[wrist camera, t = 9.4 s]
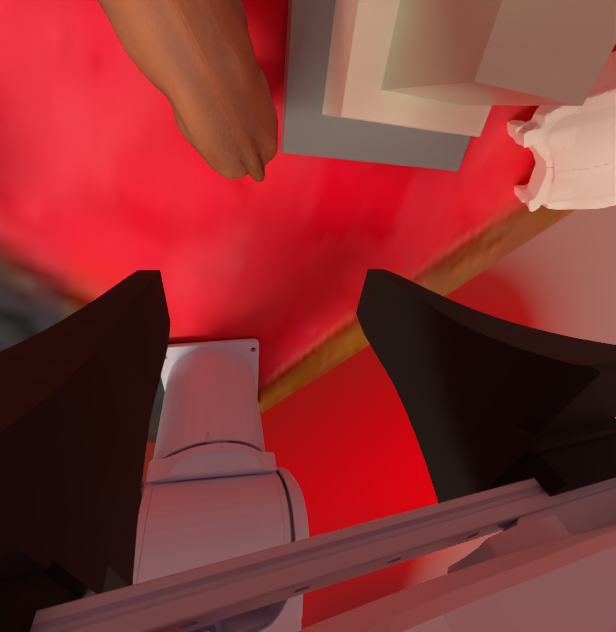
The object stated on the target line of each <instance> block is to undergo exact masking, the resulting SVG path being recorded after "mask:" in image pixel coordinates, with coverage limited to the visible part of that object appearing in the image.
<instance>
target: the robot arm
mask: <svg viewBox="0 0 616 632" xmlns="http://www.w3.org/2000/svg"><path fill="white" fill-rule="evenodd" d="M356 314H357V317H358V319H359V322H360V325H361V327H362V330H363V332H364V334H365V336H366V338H367V340H368V341H369V343H370V345H371V346H372V348H373V350H374V352H375V353H376V355H377V357H378V358H379V360H380V362H381V363H382V365H383V367H384V368H385V370H386V372H387V374H388V375H389V377H390V379H391V380H392V382H393V384H394V386H395V388H396V390H397V392H398V395H399V397H400V399H401V401H402V403H403V406H404V408H405V410H406V412H407V415H408V417H409V420H410V422H411V425H412V427H413V430H414V432H415V434H416V437H417V440H418V443H419V445H420V448H421V451H422V454H423V456H424V459H425V462H426V465H427V468H428V471H429V474H430V477H431V480H432V483H433V487H434V490H435V493H436V496H437V500H438V504H434V505H430V506H426V507H423V508H419V509H415V510H411V511H408V512H404V513H400V514H397V515H393V516H389V517H385V518H381V519H378V520H374V521H370V522H366V523H363V524H359V525H355V526H352V527H348V528H344V529H340V530H337V531H333V532H329V533H325V534H321V535H318V536H314V537H311V538H309V530H308V521H307V513H306V507H305V503H304V499H303V495H302V493H301V490H300V487H299V486H298V484H297V482H296V481H295V480H294V478H293V477H292V475H291V474H290V472H289V471H288V470H286V469H284V468H278V469H277V468H276V462H275V457H274V453H272V452H265V447H264V441H263V433H262V426H261V419H260V412H259V405H258V370H259V341H258V340H257V339H254V338H251V339H237V340H223V341H209V342H195V343H181V344H168V341H169V332H170V318H169V313H168V308H167V303H166V298H165V293H164V288H163V283H162V278H161V273H160V270H138V271H136V272H134V273H133V274H131V275H130V276H128V277H127V278H126V279H124V280H123V281H121V282H120V283H118V284H117V285H116V286H114V287H113V288H111V289H110V290H109V291H107V292H106V293H104V294H103V295H101V296H100V297H98V298H97V299H96V300H94V301H93V302H91V303H89V304H88V305H86V306H85V307H83V308H81V309H80V310H78V311H77V312H75V313H73V314H72V315H70V316H69V317H67V318H65V319H64V320H62V321H60V322H59V323H57V324H55V325H53V326H51V327H50V328H48V329H46V330H44V331H42V332H40V333H38V334H36V335H34V336H32V337H30V338H28V339H26V340H24V341H23V342H20V343H18V344H16V345H14V346H12V347H10V348H8V349H5V350H3V351H1V352H0V632H616V418H615V417H616V345H612V344H606V343H601V342H595V341H589V340H583V339H578V338H573V337H568V336H564V335H559V334H555V333H550V332H546V331H542V330H538V329H534V328H530V327H527V326H523V325H519V324H516V323H512V322H509V321H506V320H503V319H500V318H497V317H493V316H490V315H488V314H485V313H482V312H479V311H477V310H474V309H471V308H469V307H466V306H464V305H461V304H459V303H457V302H454V301H452V300H450V299H447V298H445V297H443V296H441V295H439V294H437V293H434V292H432V291H430V290H428V289H426V288H424V287H422V286H420V285H418V284H416V283H414V282H412V281H410V280H408V279H405V278H403V277H401V276H399V275H397V274H394V273H392V272H389V271H387V270H383V269H368V271H367V275H366V279H365V282H364V286H363V290H362V293H361V297H360V301H359V304H358V308H357V312H356ZM251 348H255V349H251ZM160 377H161V378H162V382H163V386H164V390H165V395H164V401H163V406H162V412H161V418H160V423H159V429H158V435H157V440H156V446H155V452H154V457H153V460H151V461H150V462H149V467H148V472H147V477H146V483H145V486H144V484H143V483H144V482H143V480H142V476H143V468H144V459H145V451H146V444H147V437H148V430H149V422H150V417H151V412H152V408H153V404H154V400H155V396H156V392H157V388H158V384H159V380H160ZM501 530H503V532H500V533H498V534H496V535H494V536H492V537H489V538H488V539H486V540H485V541H484V542H483V543H482V544H481V545H480V546H479V548H477V549H476V550H474V551H473V552H472V553H470V554H469V555H468V556H466V557H465V558H463V559H461V560H460V561H458V562H457V563H455V564H453V565H452V566H450V567H449V568H448V571H447V573H448V574H446V575H443V576H440V577H437V578H434V579H432V580H429V581H426V582H424V583H421V584H418V585H416V586H413V587H410V588H407V589H405V590H402V591H399V592H397V593H394V594H392V595H389V596H386V597H384V598H381V599H378V600H376V601H373V602H371V603H368V604H366V605H363V606H360V607H358V608H355V609H353V610H350V611H348V612H345V613H342V614H340V615H337V616H335V617H333V618H330V619H327V620H325V621H322V622H320V623H317V624H315V625H312V626H310V627H307V628H305V629H302V630H301V618H302V610H303V609H302V608H303V607H302V605H303V604H302V603H303V594H304V593H307V592H310V591H314V590H317V589H320V588H323V587H326V586H329V585H332V584H335V583H339V582H341V581H345V580H348V579H351V578H354V577H357V576H360V575H364V574H367V573H369V572H373V571H376V570H379V569H382V568H385V567H388V566H392V565H395V564H398V563H401V562H404V561H407V560H410V559H413V558H417V557H420V556H423V555H426V554H429V553H432V552H435V551H438V550H442V549H445V548H448V547H451V546H454V545H457V544H460V543H464V542H466V541H469V540H473V539H476V538H479V537H482V536H485V535H488V534H491V533H495V532H498V531H501Z"/></svg>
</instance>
